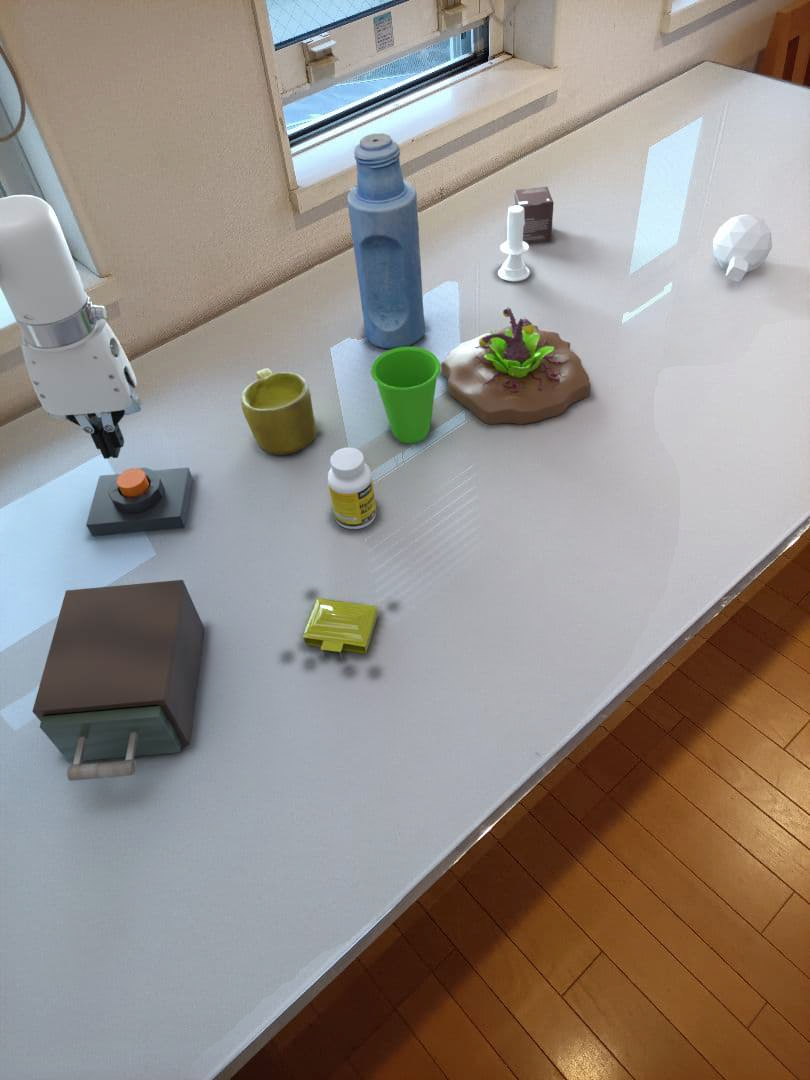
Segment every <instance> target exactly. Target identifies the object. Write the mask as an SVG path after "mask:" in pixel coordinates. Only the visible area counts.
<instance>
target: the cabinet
mask: <svg viewBox="0 0 810 1080" xmlns="http://www.w3.org/2000/svg"><path fill="white" fill-rule="evenodd" d="M205 630H206V629H205V626H204V625H203V622H202V620H201V617H200V615H199V612H198V610H197V608H196V606H195V603H194V602H193V599H192V597H191V595H190V592H189V590H188V588H187V586H186V584H185V581H184V579H175V580H163V581H153V582H140V583H131V584H121V585H110V586H108V585H107V586H98V587H88V588H76V589H66V590H65V593H64V596H63V599H62V604H61V605H60V611H59V613H58V617H57V620H56V625H55V628H54V632H53V635H52V639H51V643H50V646H49V650H48V654H47V657H46V660H45V664H44V668H43V672H42V675H41V680H40V683H39V686H38V690H37V693H36V697H35V700H34V704H33V708H32V713H33V715H35V717H36V718H37V719H38V720H39V722H41V719H42V716H50V715H61V713H69V712H80V711H91V710H102V709H114V708H125V707H136V706H147V705H159V706H161V708H162V709H163V711H164V713H165V714H166V716H167V718H168V720H169V721H170V723H171V725H172V726H173V728H174V730H175V731H176V733H177V735H178V737H179V738H180V740H181V747H182V746H190V745H191V738H192V730H193V723H194V715H195V708H196V699H197V691H198V683H199V676H200V669H201V662H202V653H203V644H204V638H205V637H204V636H205Z"/></svg>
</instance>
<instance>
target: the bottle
mask: <svg viewBox="0 0 810 1080" xmlns="http://www.w3.org/2000/svg"><path fill="white" fill-rule="evenodd" d="M400 151H401V149H400V146H399V144H398V143H397V141H396V140H394V139H392V137H391V136H390V135H388V134H386V133H370V134H367V135H365V136H364V137H363V138H361V139H360V141H359V143H358V144H357V145H356V146H355V147H354V151H353V154H354V160H355V165H356V184H355V185H354V186H353V187H352V188H351V189H350V190H349V192H348V194H347V208H348V216H349V223H350V230H351V239H352V244H353V253H354V258H355V265H356V273H357V281H358V287H359V295H360V303H361V311H362V319H363V326H364V335H365V338H366V340H367V341H368V342H369V343H370V344H371V345H373V346H375V347H378V348H381V349H386V350H391V349H395V348H399V347H411V346H413V345H414V344H416V343H417V342H418V341H420V340H421V339H422V337H423V336H424V334H425V332H426V331H425V330H426V325H425V314H424V313H425V312H424V300H423V299H424V298H423V281H422V280H423V279H422V267H421V265H422V263H421V259H422V258H421V249H420V232H419V231H420V227H419V215H418V196H417V190H416V188H415V186H414V185H413V184H412V182H409V181H408V180H406V179H404V174H403V170H402V167H401V159H400V157H401V152H400Z"/></svg>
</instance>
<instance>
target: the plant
mask: <svg viewBox="0 0 810 1080" xmlns="http://www.w3.org/2000/svg"><path fill="white" fill-rule="evenodd" d="M502 314H503V316H504V317H506V318H509V324H510V326H507V327H503V328H500V329H496V330H493V331H492V330H491V331H489V332H487V333H484V334H483V333H482V334H481V335H479V336H477V337H475V338H473V339H470V340H467V341H463V342H461V343H459V344H458V346H456V347H455V348H453V349H451V350H450V351H449V352H448V354H447V356H446V357H445V358H444V359H443V360H442V361H441V362H440V365H441V368H440V372H441V376H443V377H444V378H446V379H447V393H448V394H449V395H450V397H452V398H453V399H455V400H456V401H457V402H458V403H460V404H461V405H462V406H464V407H465V408H466V409H468V410H469V411H471V413H473V414H474V415H475V416H476V417H477V418H479V419H480V420H481V421H482V422H484V423H485V424H487V425H497V424H498V425H499V424H517V425H525V424H532V423H533V424H534V423H536V422H537V423H538V422H539V421H543V420H547V419H549V418H553V417H557V416H559V415H562V414H563V413H564V412H565V411H566V410H567V408H568V407H569V406H570V405H572V404H574V403H576V402H578V401H581V400H583V399H586V398H589V397H590V395H591V381H590V378H589V374H588V373H587V371H586V369H585V368H584V366H583V364H582V360H581V359H580V357H579V356H578V355H577V354H576V353H575V352H573V350H571V342H569V341H566V340H563V339H562V338H561V336H560V334H559V333H558V332H555V331H546V330H540V329H539V327H538V325H535V324H533V323H532V322H530V320H529V319H528V318H526V317H522V318H519V320H518V321H516V318H515V315H514V313H513V311H512V309H511V308H510V307H509V306H507V307H505V308H503V310H502Z"/></svg>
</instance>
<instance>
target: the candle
mask: <svg viewBox="0 0 810 1080" xmlns="http://www.w3.org/2000/svg"><path fill="white" fill-rule="evenodd" d="M506 222H507V231H506V232H507V233H506V234H507V236H506V238H507V239H506V241H505V242H503V243H502V244H501V245H500V251H501V252H502V253H504V254H506V255H507V256H508V257H507V258H506V260H505V261H504V262H503V263H502V266H501V267H500V269H499V270H498V272H497V274H498V277H500V279H502V280H504V281H507V282H521V281H524V280H526V279H527V278H528V277H529V276H530V275H531V270H530V269H529V267H527V264H526V262H525V261H524V260H523V259H522V257H521V255H523V254H525V253H528V251H529V249H530V245H529V243H526V242H524V241H523V227H524V224H525V220H524V208H523V207H521V206H520V205H514V204H513V205H510V206H509V207H508V210H507V220H506Z"/></svg>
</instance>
